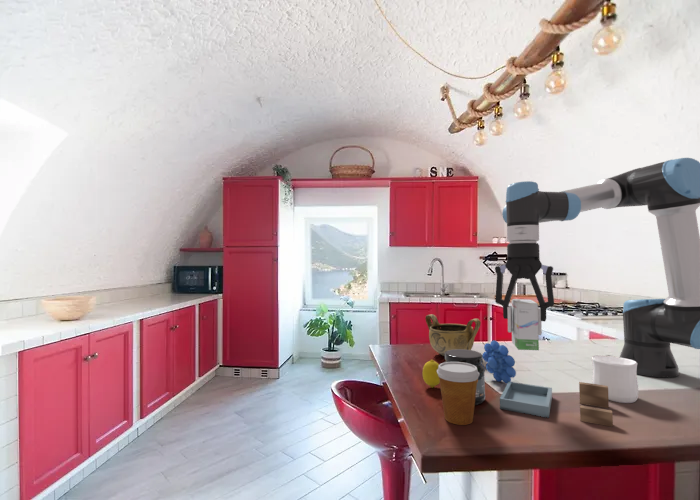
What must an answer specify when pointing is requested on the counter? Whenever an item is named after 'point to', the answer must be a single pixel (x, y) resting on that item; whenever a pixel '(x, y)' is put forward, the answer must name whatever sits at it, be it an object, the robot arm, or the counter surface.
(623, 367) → the cup
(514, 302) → the ink box
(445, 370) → the disposable coffee cup
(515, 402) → the tray
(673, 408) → the counter surface
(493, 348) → the grapes
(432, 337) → the ceramic bowl
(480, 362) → the supplement container
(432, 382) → the lemon
